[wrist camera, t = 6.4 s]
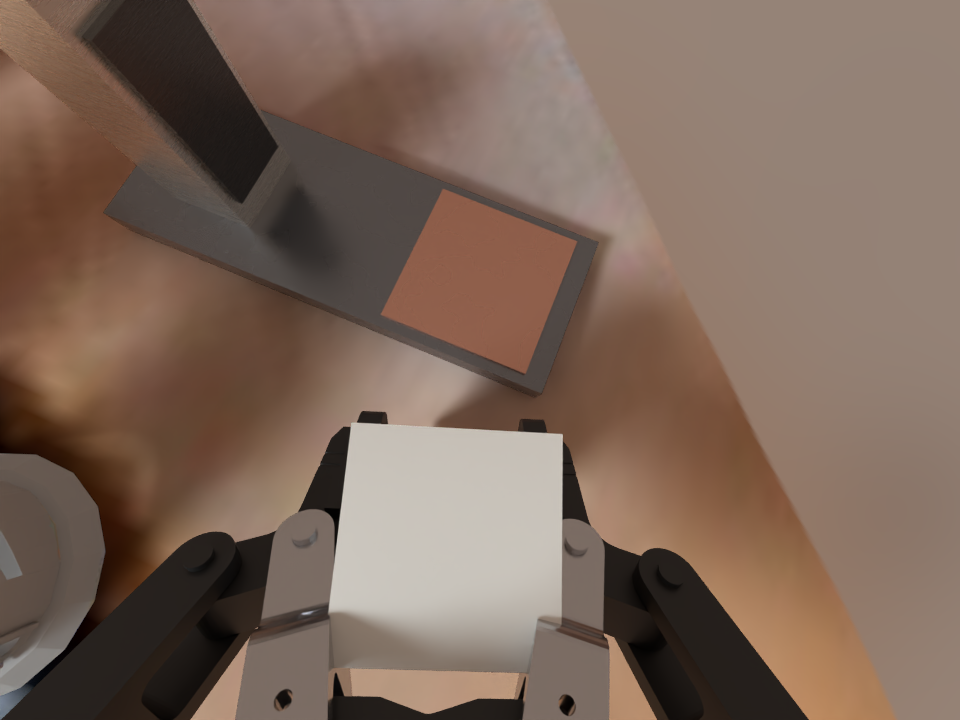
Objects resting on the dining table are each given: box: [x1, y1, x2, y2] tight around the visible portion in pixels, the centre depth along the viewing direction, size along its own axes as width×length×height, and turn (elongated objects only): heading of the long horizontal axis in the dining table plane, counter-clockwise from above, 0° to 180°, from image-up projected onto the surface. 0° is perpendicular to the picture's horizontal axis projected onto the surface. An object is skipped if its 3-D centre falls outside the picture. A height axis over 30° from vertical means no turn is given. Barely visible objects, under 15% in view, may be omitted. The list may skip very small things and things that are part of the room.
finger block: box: [328, 422, 563, 673], centre depth 12 cm, size 4×4×10 cm
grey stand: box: [0, 0, 599, 397], centre depth 14 cm, size 22×8×12 cm, turn 68°
